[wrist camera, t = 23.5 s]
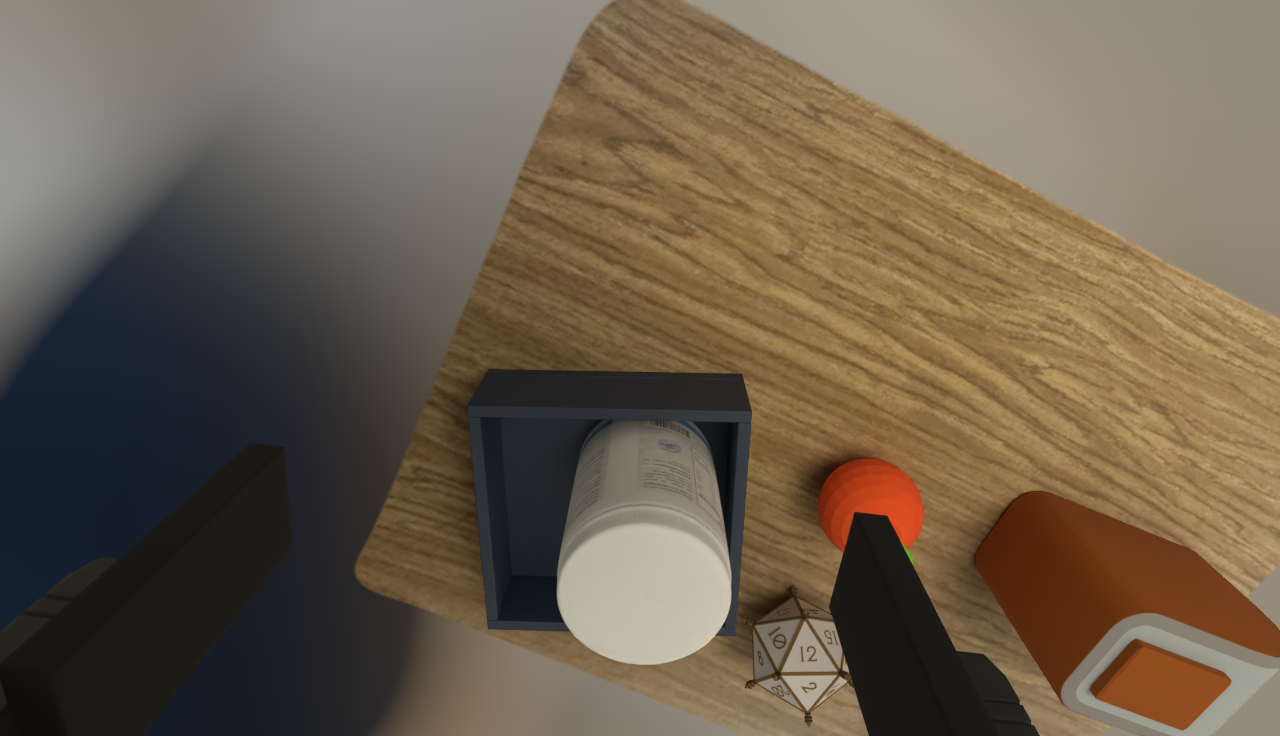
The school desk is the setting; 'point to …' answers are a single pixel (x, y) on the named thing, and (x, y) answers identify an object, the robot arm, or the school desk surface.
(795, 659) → the game die
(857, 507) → the clementine
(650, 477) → the supplement tub
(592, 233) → the school desk surface
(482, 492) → the bin
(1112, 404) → the school desk surface
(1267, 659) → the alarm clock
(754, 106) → the school desk surface
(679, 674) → the school desk surface
